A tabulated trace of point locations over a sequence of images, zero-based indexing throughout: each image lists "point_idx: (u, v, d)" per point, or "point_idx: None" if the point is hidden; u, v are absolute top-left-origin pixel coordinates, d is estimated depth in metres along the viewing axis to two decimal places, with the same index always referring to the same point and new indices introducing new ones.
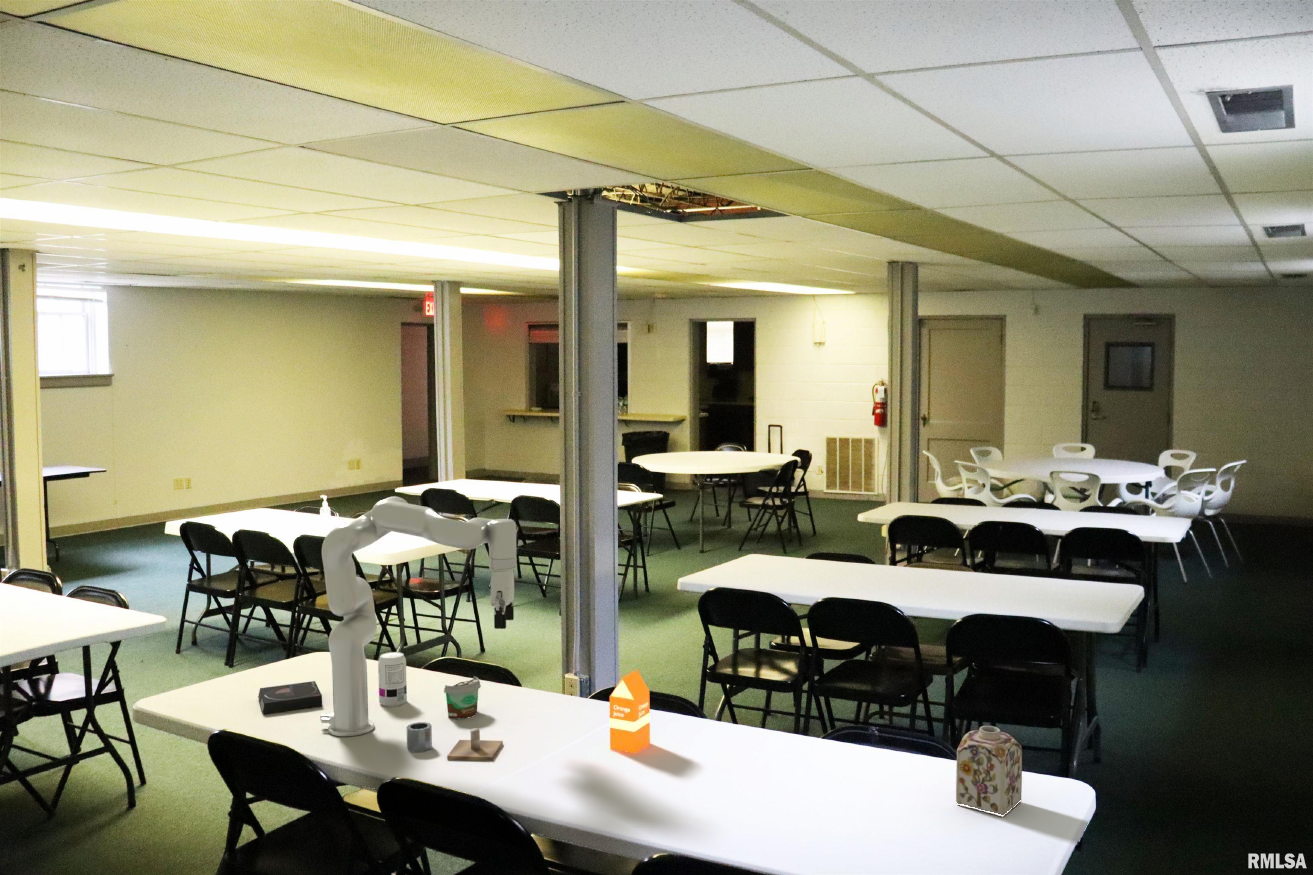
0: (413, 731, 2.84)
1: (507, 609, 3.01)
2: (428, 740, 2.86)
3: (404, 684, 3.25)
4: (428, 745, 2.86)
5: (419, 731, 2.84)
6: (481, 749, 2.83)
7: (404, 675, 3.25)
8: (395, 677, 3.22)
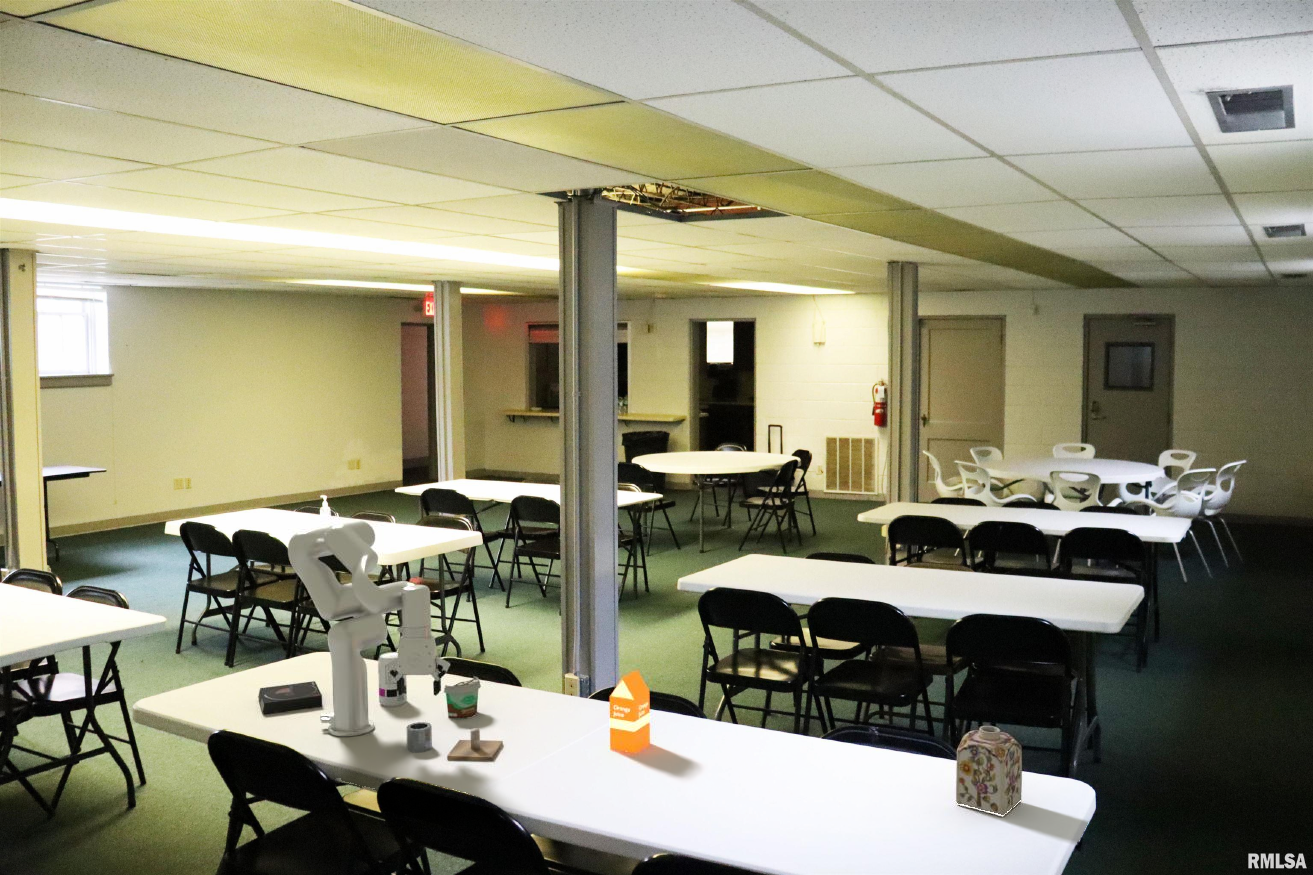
0: (413, 731, 2.84)
1: (402, 682, 2.87)
2: (428, 740, 2.86)
3: None
4: (428, 745, 2.86)
5: (419, 731, 2.84)
6: (481, 749, 2.83)
7: (404, 675, 3.25)
8: None
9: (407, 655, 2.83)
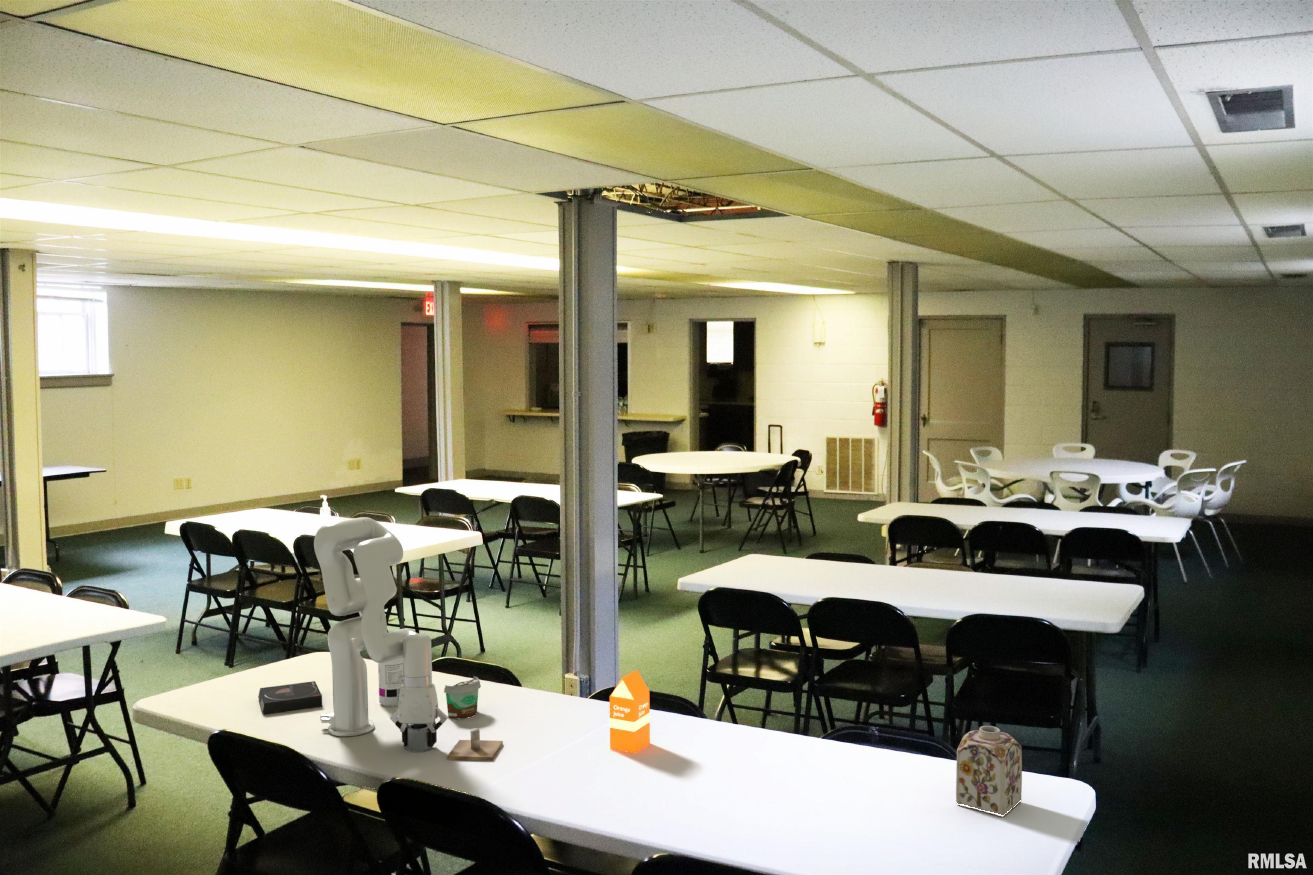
0: (413, 731, 2.84)
1: None
2: (428, 740, 2.86)
3: None
4: (428, 745, 2.86)
5: (419, 731, 2.84)
6: (481, 749, 2.83)
7: None
8: (395, 677, 3.22)
9: (408, 704, 2.84)
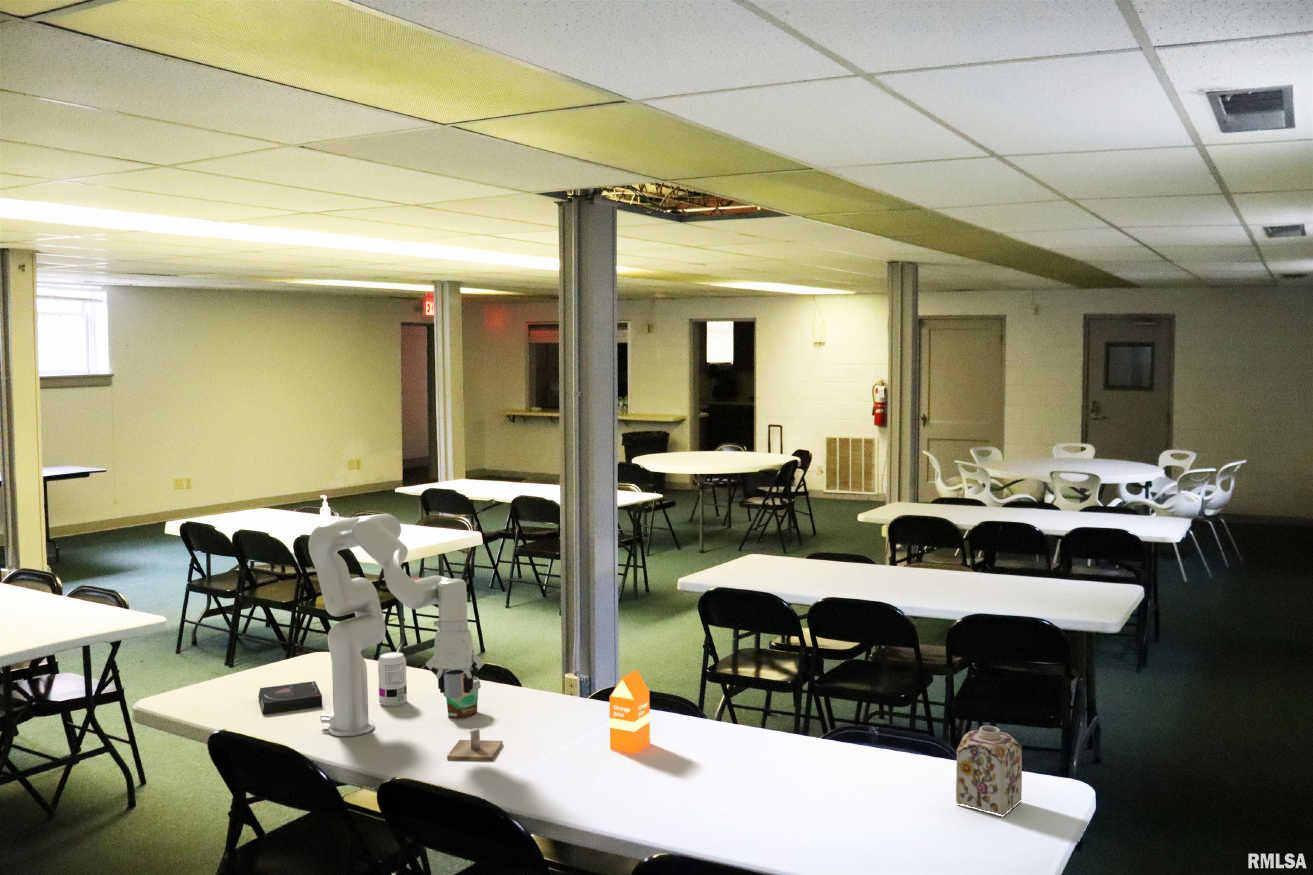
0: (449, 676, 2.81)
1: None
2: (465, 686, 2.83)
3: (404, 684, 3.25)
4: (465, 691, 2.83)
5: (455, 676, 2.81)
6: (481, 749, 2.83)
7: (404, 675, 3.25)
8: (395, 677, 3.22)
9: (444, 649, 2.81)
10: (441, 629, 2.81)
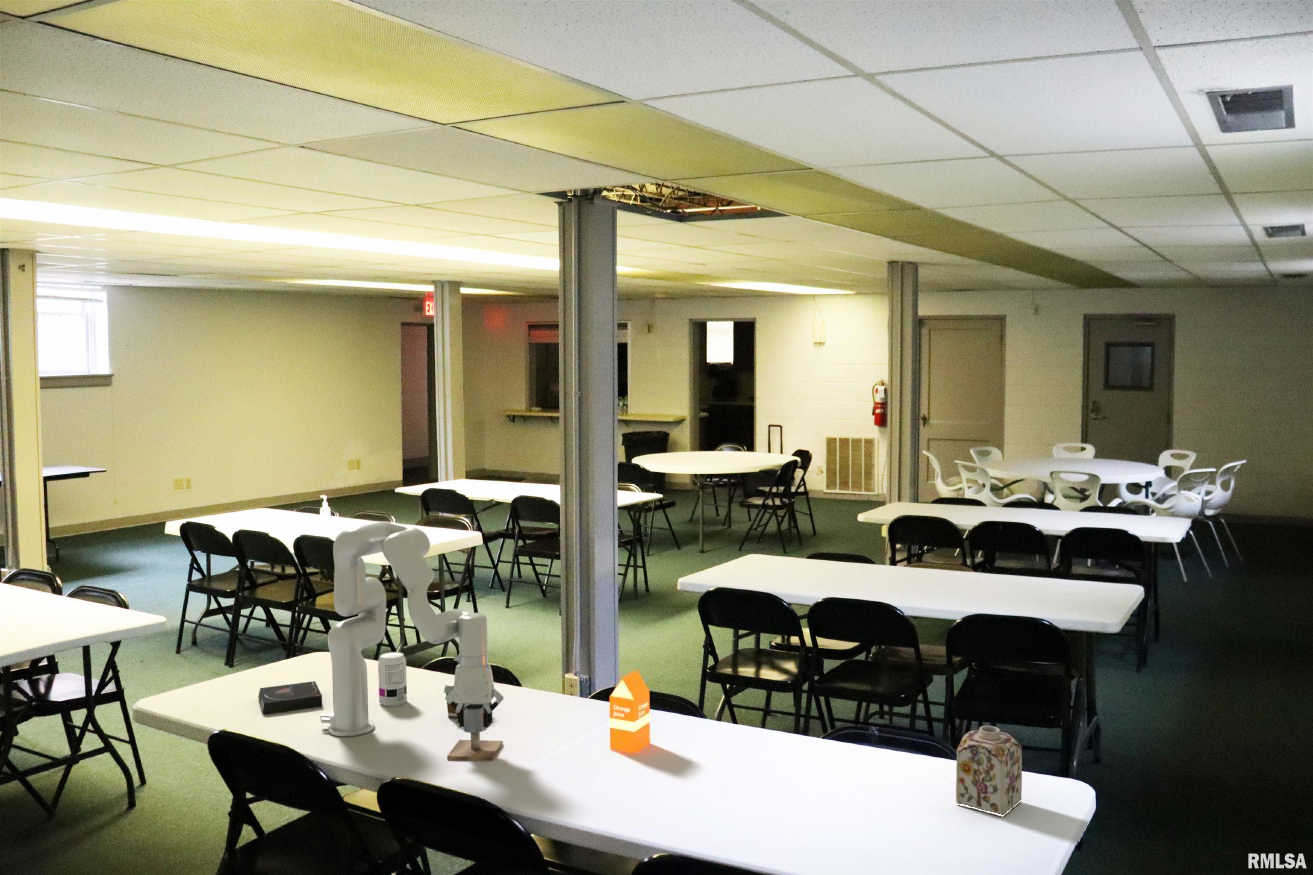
0: (469, 711, 2.80)
1: None
2: (484, 721, 2.82)
3: (404, 684, 3.25)
4: (484, 726, 2.82)
5: (475, 711, 2.81)
6: (481, 749, 2.83)
7: (404, 675, 3.25)
8: (395, 677, 3.22)
9: (464, 684, 2.81)
10: (461, 664, 2.80)
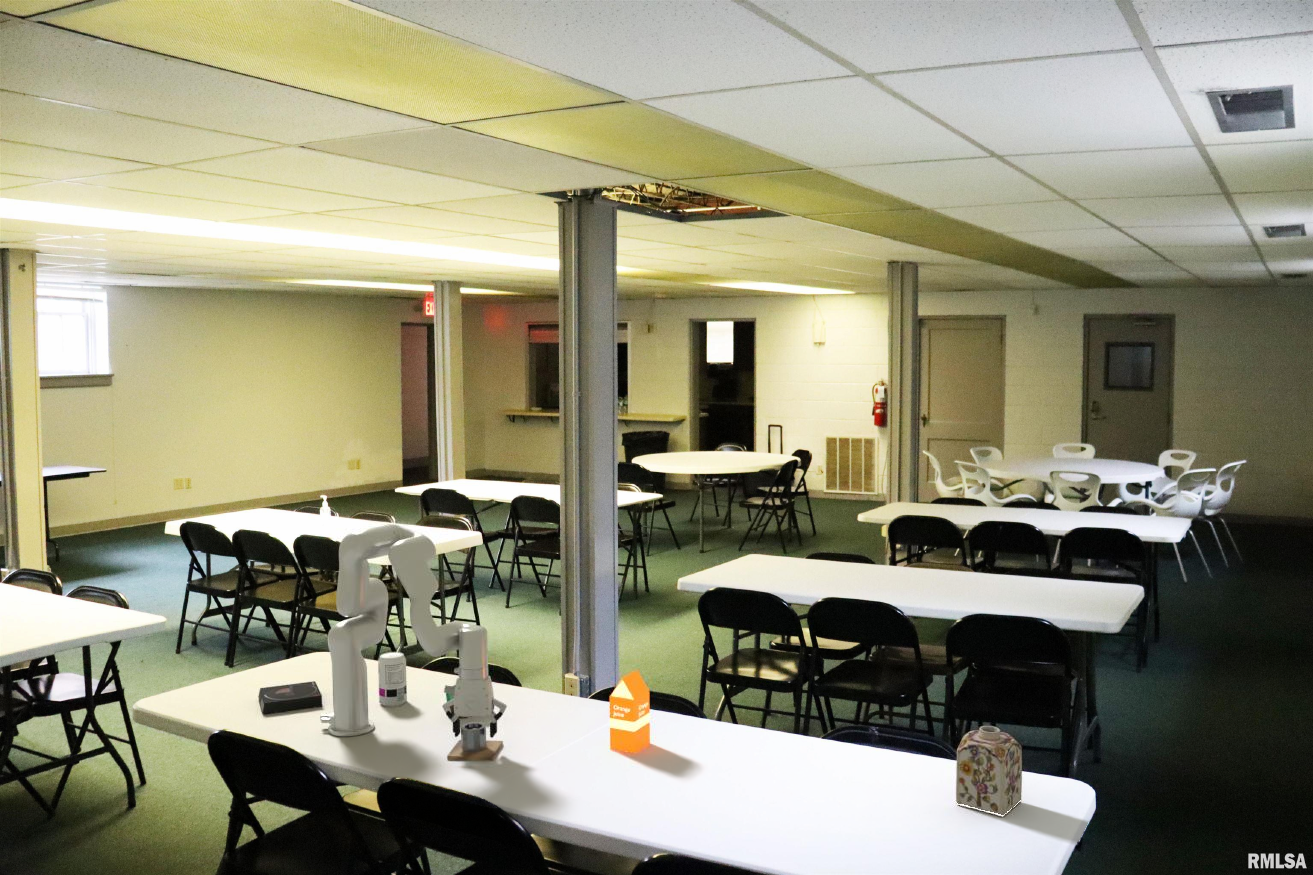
0: (468, 731, 2.81)
1: (458, 723, 2.84)
2: (483, 740, 2.83)
3: (404, 684, 3.25)
4: (483, 745, 2.83)
5: (474, 731, 2.81)
6: None
7: (404, 675, 3.25)
8: (395, 677, 3.22)
9: (464, 697, 2.81)
10: (462, 677, 2.80)
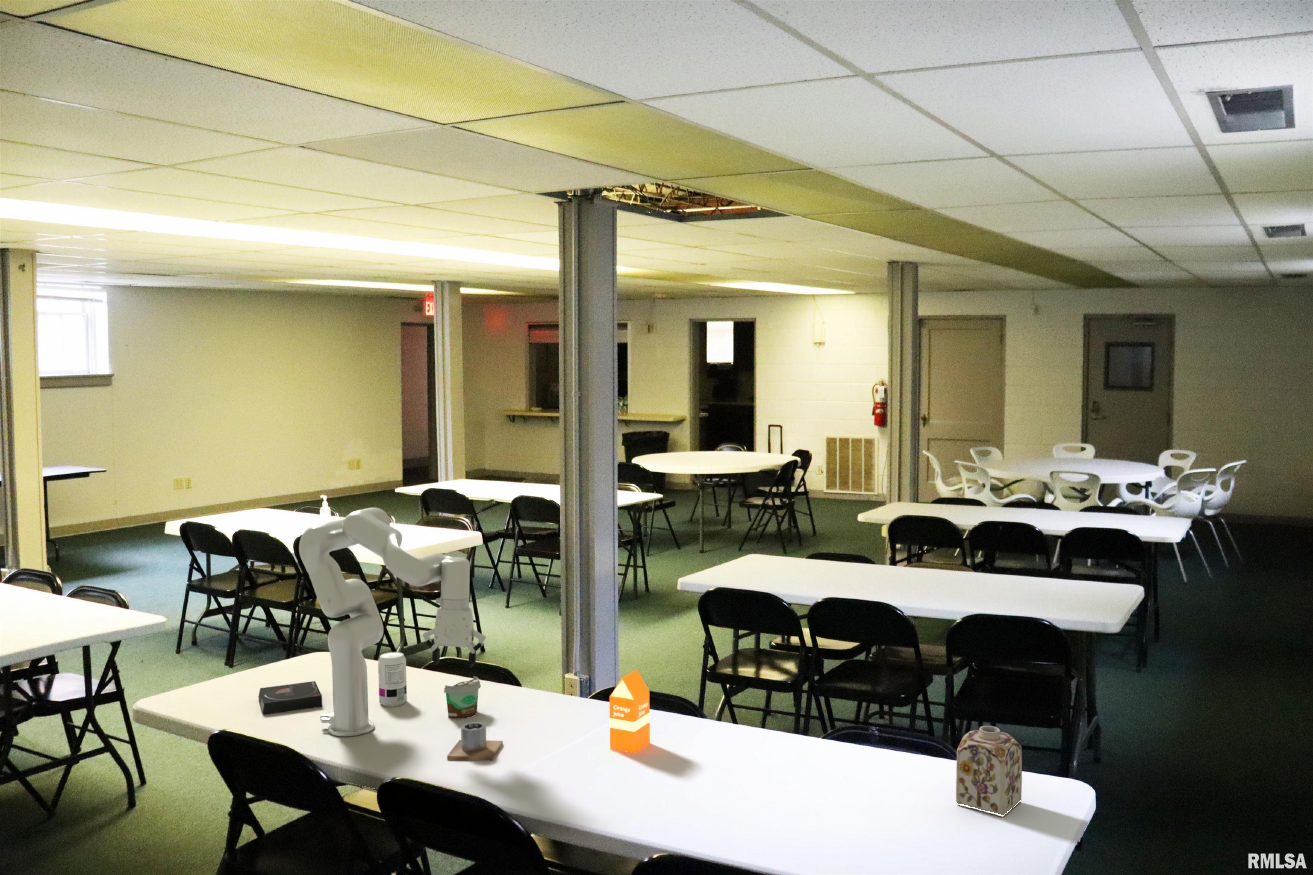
0: (468, 731, 2.81)
1: (438, 653, 2.89)
2: (483, 740, 2.83)
3: (404, 684, 3.25)
4: (483, 745, 2.83)
5: (474, 731, 2.81)
6: None
7: (404, 675, 3.25)
8: (395, 677, 3.22)
9: (444, 626, 2.85)
10: (443, 606, 2.85)
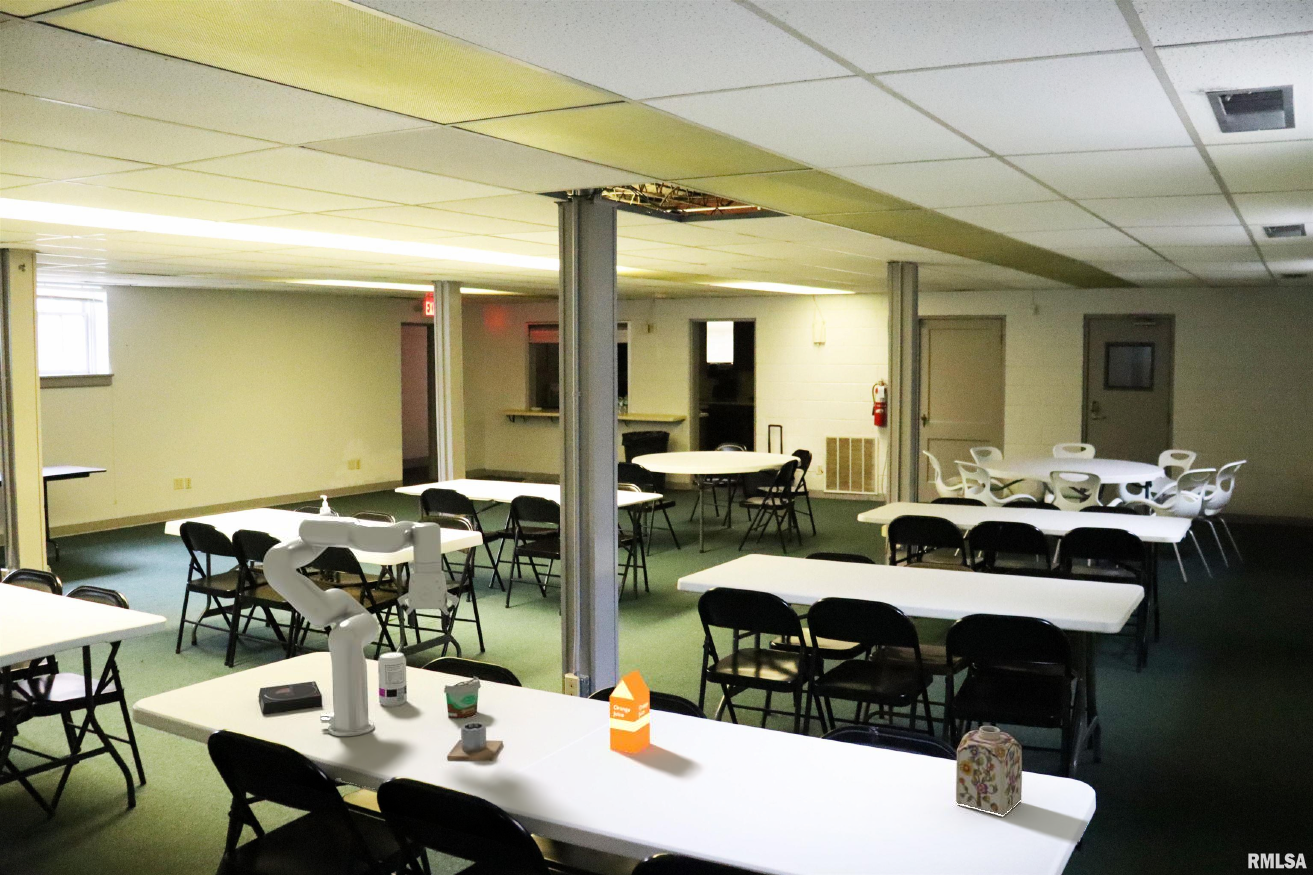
0: (468, 731, 2.81)
1: (413, 616, 2.97)
2: (483, 740, 2.83)
3: (404, 684, 3.25)
4: (483, 745, 2.83)
5: (474, 731, 2.81)
6: None
7: (404, 675, 3.25)
8: (395, 677, 3.22)
9: (418, 589, 2.93)
10: (415, 570, 2.93)
